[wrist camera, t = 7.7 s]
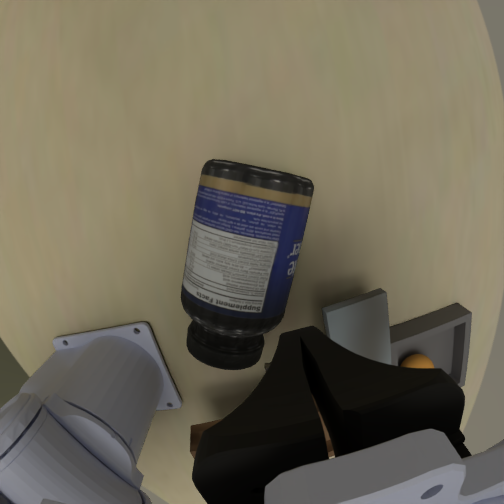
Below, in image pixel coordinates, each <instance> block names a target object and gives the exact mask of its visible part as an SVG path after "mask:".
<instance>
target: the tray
mask: <svg viewBox="0 0 504 504" xmlns="http://www.w3.org/2000/svg"><path fill="white" fill-rule="evenodd" d="M471 317H472V312H470V311H469V310H467V309H466V308H464V307H463V306H461V305H460V304H458V303H455V304H453V305H450V306H448V307H445V308H442V309H440V310H437V311H435V312H432V313H429V314H426V315H424V316H421V317H418V318H415V319H412V320H410V321H407V322H404V323H401V324H398V325H395V326H392V327H389V329H390V345H391V365H395V366H401V364H402V362H403V361H404V360H405V359H406V358H407V357H409V356H411V355H414V354H422V355H425V356H427V357H428V358H429V359H430V360H431V361H432V363H433V365H434V368H441V369H442V370H444V371H445V372H446V373H447V374H448V375H449V376H450V377H451V378H452V379H453V380H454V381H455V382H456V383H457V384H458V385H459V387H462V386H464V385H465V378H466V371H467V363H468V355H469V345H470V333H471Z"/></svg>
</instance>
